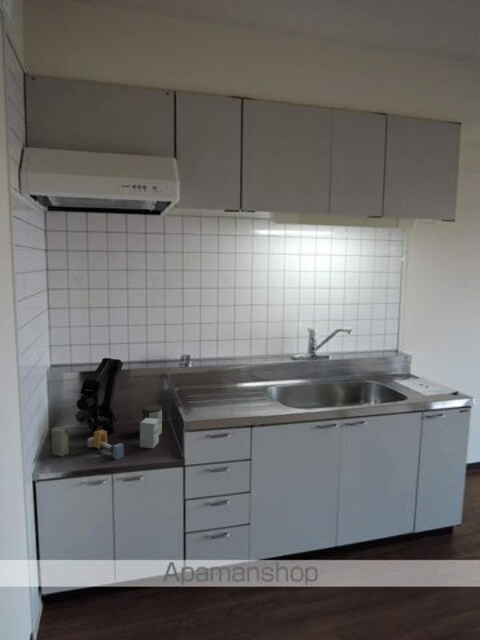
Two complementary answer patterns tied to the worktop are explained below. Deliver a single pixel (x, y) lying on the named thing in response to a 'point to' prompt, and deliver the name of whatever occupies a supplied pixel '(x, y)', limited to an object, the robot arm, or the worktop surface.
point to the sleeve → (97, 438)
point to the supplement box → (149, 432)
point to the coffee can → (153, 413)
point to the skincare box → (60, 441)
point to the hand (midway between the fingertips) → (93, 434)
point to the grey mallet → (115, 449)
